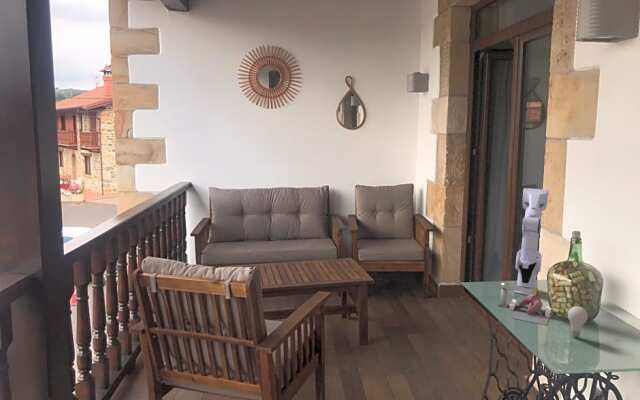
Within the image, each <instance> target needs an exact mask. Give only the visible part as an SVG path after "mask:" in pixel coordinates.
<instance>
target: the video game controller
mask: <svg viewBox="0 0 640 400" xmlns="http://www.w3.org/2000/svg"><path fill="white" fill-rule="evenodd" d="M543 304H544V303H543V302H542V299H541V298H540V297H539V296H537V295H531V294H530V295H527V296H526V297H524V298H523V299H521V300H520V301H519V303H518V305H519V306H520V307H525V306H527V308H528V309H527V311H526V313H527V314H536V313H537V312H539V311H540V310H541V309H542V308H543Z"/></svg>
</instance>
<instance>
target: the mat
mask: <svg viewBox="0 0 640 400" xmlns="http://www.w3.org/2000/svg"><path fill="white" fill-rule="evenodd" d="M511 319H514V320H518V321H522V322H527V323H528V322H529V323H532V324H533V323H534V324H537V325H544V326H548V322H549V319H550V317H545V315H539V314H536V313H534V314H527V312H525V311H519V310H514V312H513V314H512V317H511Z"/></svg>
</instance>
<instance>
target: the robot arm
mask: <svg viewBox="0 0 640 400" xmlns="http://www.w3.org/2000/svg"><path fill="white" fill-rule="evenodd" d="M548 198H549V190H548V189H541V188H528V187H525V188H523V193H522V209H524V210H525V213H524V214H525V215H524V217H523V218H522V229H521V230H522V239H521V248H520V249H519V250H518V251H517V252H516V258H515V266H514V267H515V269H516V270H517V272H518V273H517V279H516V280H517V281H516V282H517V283H516V285H518V286H524V287H530V288H536V285H537V284H536V283H537V276H538V273H540V272H541V268H542V254H541V252H540V251H538V246H539V236H540V233H541V230H542V217H541V216H542V212H543V211H544V212H545V211H546V209H547V205H548V200H549V199H548ZM513 292H514V293H515V294H521V295H527V296H528V295H530V293H525V292H519V291H514V290H513ZM531 295H533V294H531Z"/></svg>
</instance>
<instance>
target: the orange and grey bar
mask: <svg viewBox="0 0 640 400" xmlns="http://www.w3.org/2000/svg"><path fill="white" fill-rule="evenodd" d="M500 289H504V290H508V291H513V292H514V291H519V292H525V293H530V294H533V295H535V296H537V292H538V288H537V287H535V288H530V287H524V286H518V285H517V284H512V283H509V282H505V281H504V282H501V283H500Z"/></svg>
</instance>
